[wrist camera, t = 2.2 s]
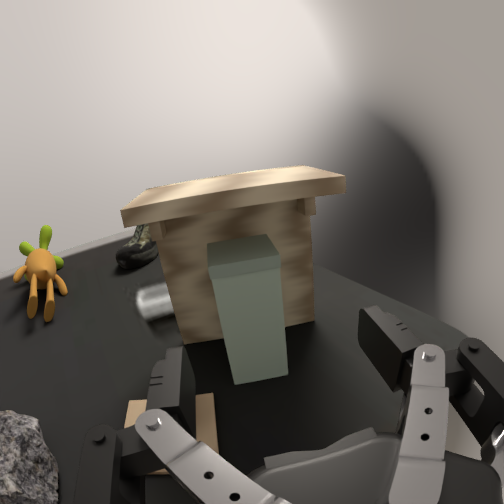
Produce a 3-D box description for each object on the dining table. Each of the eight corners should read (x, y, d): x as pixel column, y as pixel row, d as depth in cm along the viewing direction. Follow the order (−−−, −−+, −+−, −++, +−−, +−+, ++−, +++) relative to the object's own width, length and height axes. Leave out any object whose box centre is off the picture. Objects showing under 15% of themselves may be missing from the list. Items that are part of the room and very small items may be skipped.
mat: (119, 473, 16) (117, 471, 16) (131, 403, 23) (129, 400, 23) (220, 470, 17) (219, 468, 17) (213, 395, 24) (212, 392, 24)
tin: (233, 385, 25) (207, 267, 21) (228, 351, 30) (207, 243, 26) (289, 374, 26) (280, 254, 21) (277, 342, 31) (266, 233, 26)
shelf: (181, 399, 24) (120, 210, 18) (184, 339, 33) (147, 188, 26) (342, 368, 25) (345, 175, 19) (311, 316, 34) (302, 165, 28)
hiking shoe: (107, 272, 55) (95, 229, 52) (156, 236, 74) (149, 201, 71) (140, 273, 53) (128, 225, 50) (185, 235, 72) (178, 198, 69)
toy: (68, 357, 42) (57, 282, 64) (85, 287, 41) (72, 231, 63) (3, 343, 33) (14, 270, 55) (12, 267, 32) (27, 216, 54)
